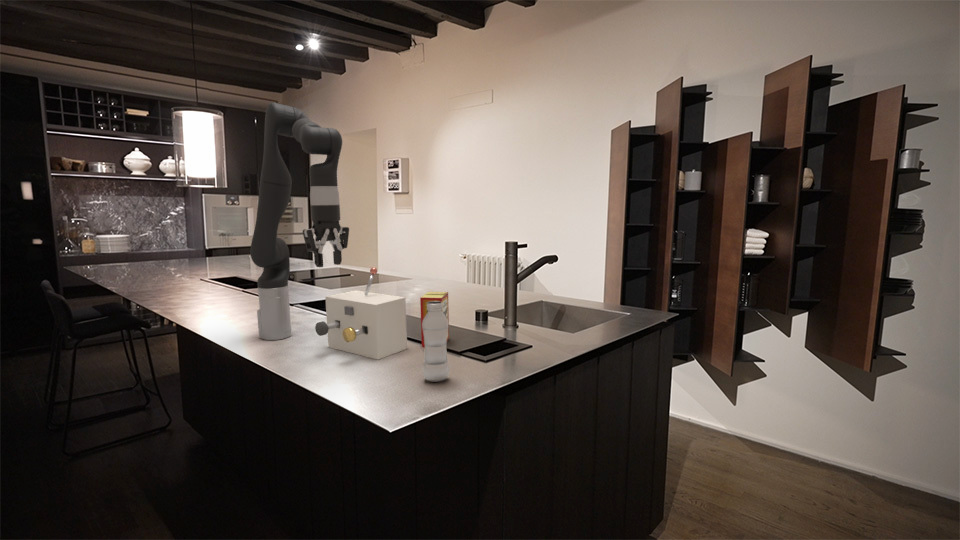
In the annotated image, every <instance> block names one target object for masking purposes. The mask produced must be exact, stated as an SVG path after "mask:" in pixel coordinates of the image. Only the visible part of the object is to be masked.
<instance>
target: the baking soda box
mask: <svg viewBox="0 0 960 540" xmlns="http://www.w3.org/2000/svg"><path fill="white" fill-rule="evenodd" d="M419 299H420V301H419V303H420V335H421V348H425V344H424V335H423V328H422V322H423V319H424V318H425V316H426V314H427V313H428V311H427V302H430V301H440V302H442V307H443V310H442V313H443V314H444V315H445V317H446V318H447V320H448V332H447V340H448V339H449V340H450V323H449V321H450V317H449V315H450V313H449V310H450V309H449V291H427V292H426V293H425V294H423V295H422V296H421V297H420V298H419ZM449 340H448V341H449Z"/></svg>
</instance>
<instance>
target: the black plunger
mask: <svg viewBox="0 0 960 540" xmlns="http://www.w3.org/2000/svg"><path fill="white" fill-rule="evenodd" d="M339 326H340V322H339V321H338V322H334V323H330V324H327V321H323V320H322V321H319V322H316V324H315V326H314V327H315V332H316V334H317V335H318V336H319V337H321V336H324V335H325V336H326V335H328V330H329V329H332V328H336V327H339Z"/></svg>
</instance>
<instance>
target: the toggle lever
mask: <svg viewBox="0 0 960 540" xmlns="http://www.w3.org/2000/svg"><path fill="white" fill-rule="evenodd" d="M369 273H370V276H369V279H368V281H367V284H366V288H365V291H364V292H365V293H364V294H365V295H366V296H367V295H368V292H370V289H371V286H372V283H373V280H374V277H375V275H376V274H377V273H378V268H376V267H371V268H370V269H369Z"/></svg>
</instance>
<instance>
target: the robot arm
mask: <svg viewBox="0 0 960 540" xmlns="http://www.w3.org/2000/svg"><path fill="white" fill-rule="evenodd" d="M264 115H265V116H264V132H263V133H264V136H263V137H264V139H263V157H262V164H261V173H260V178H259V179H260V180H259V190H258V203H257V208H256V209H257V210H256V219H255V224H254V230H253V234H252V240H251V244H250V248H249V249H250V250H249V251H250V258H251V261H252V262H253V263H254V265H255V266H256V267H259V268H263V270H262V273H261V275H260V276H259V277H258V279H257V291H258V292H257V293H258V304H259V309H258V310H256V315H257V317H256V318H257V326H258V327H257V329H258V338H259V339H262V340H265V341H277V340H282V339H283V340H284V339H287V338H289V337H291V336H292V323H291V319H292V318H291V307H290V295H289V278H290V274H291V271H290V270H291V266H290V261H291V259H290V250H289V247H288V244H287V242H286V241H285V240H284V239H282V238H280V237H278V231H279V230H278V229H279V226H280V225H279V224H280V222H281V220H282V217H283V216H284V215H285V212H286V211H287V207H288V205H289V203H290V199H291V196H292V195H291V192H292V185H293V180H292V176H291V173H290V171H289V168H288V167H287V165H286V163H285V161H284V159H283V157H282V155H281V154H282V153H281V152H280V149H279V145H278V144H279V143H278V136H283V137H287V138H294V139H295V140H296V142H298V143H299V144H300V146H301V149H302V151H303V152H304V153H306V154H310V155H318V156H319V155H321V156H322V155H323V156H324V155H325V156H326V159H325V160H324V161H323V162H319V163H313V164H312V165H310V167H309V185H310V186H309V187H310V191H309V200H310V217H311V221H312V226H311V228H308V229H302V235H303V239H304V244H305V248H306V250H307V252H311V253H313V258H314V265H315V266H316V268H324V258H323V257H324V255H323V250H324V246H326V243H327V242H329V243H330V244H331V246H332V249H333V251H332V255H333V256H332V257H333V258H332V259H333V264H334V265H335V266H336V265H337V266H338V265H341V264H342V259H343V258H342V251H343V250H345V249H347V248H348V244H349V234H350V227H349V226H348V227H347V226H341V224H340V220H341V208H340V207H341V205H340V192H339V187H338V186H339V185H338V168H339V162H340V161H339V160H340V156H341V151H342V147H343V137H342V135H341V133H340V131H339V130H337V129H336V128H333V127H322V126H320V124H317V123H316V122H313V121H312V120H310V119H309V117H308V116H307V115H306V114H305V113H304V111H303V110H301V109H300V108H298V107H294V106H289V105H286V104H284V103H283V104H282V103H278V102H269V103H268V105H267V107H266V111H265V114H264Z"/></svg>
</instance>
